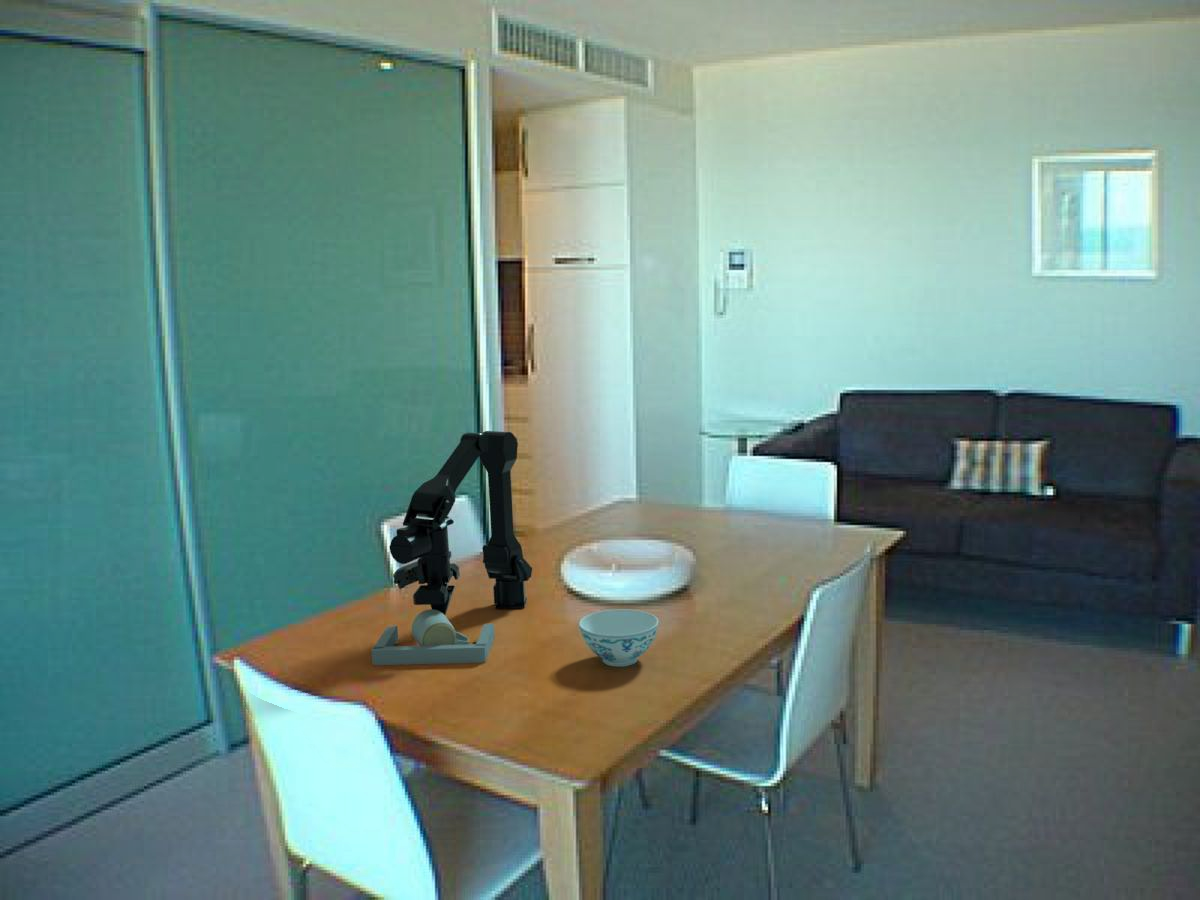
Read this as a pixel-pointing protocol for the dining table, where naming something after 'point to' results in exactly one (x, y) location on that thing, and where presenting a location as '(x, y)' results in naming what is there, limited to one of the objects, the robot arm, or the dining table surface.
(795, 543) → the dining table surface
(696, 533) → the dining table surface
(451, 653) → the mug dock
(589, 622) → the chinaware
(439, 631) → the ceramic mug
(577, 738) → the dining table surface
